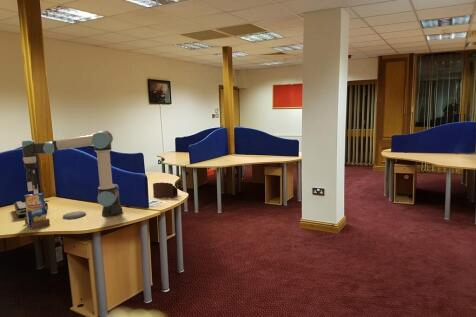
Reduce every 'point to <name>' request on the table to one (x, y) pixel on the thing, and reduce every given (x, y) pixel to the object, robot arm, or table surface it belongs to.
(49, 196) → the table surface
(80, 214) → the slate coaster
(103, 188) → the robot arm
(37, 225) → the walnut slot
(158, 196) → the letter holder
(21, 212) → the office tray
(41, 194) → the beverage box
